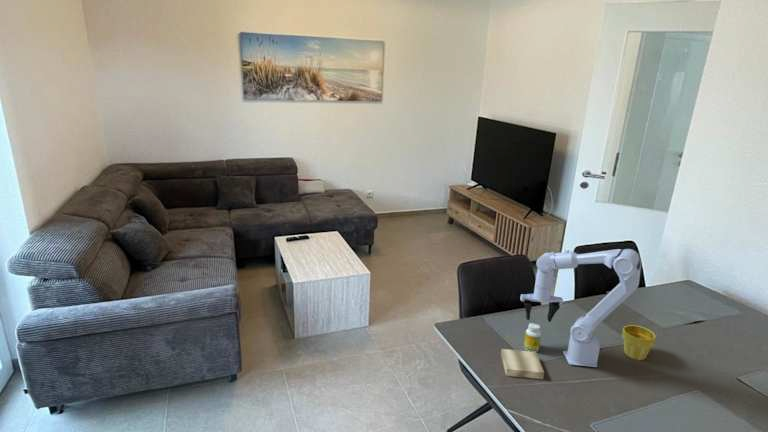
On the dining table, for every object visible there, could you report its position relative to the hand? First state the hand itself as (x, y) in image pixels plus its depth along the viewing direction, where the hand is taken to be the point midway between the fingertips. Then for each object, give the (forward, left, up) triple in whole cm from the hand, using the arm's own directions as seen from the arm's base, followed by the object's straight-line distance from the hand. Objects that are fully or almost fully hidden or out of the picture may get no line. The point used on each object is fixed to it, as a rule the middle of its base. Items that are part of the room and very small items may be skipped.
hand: (538, 319), depth 163 cm
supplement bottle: (+2, +3, -11) cm, 11 cm away
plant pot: (-35, +2, -11) cm, 37 cm away
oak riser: (+8, +15, -11) cm, 20 cm away
